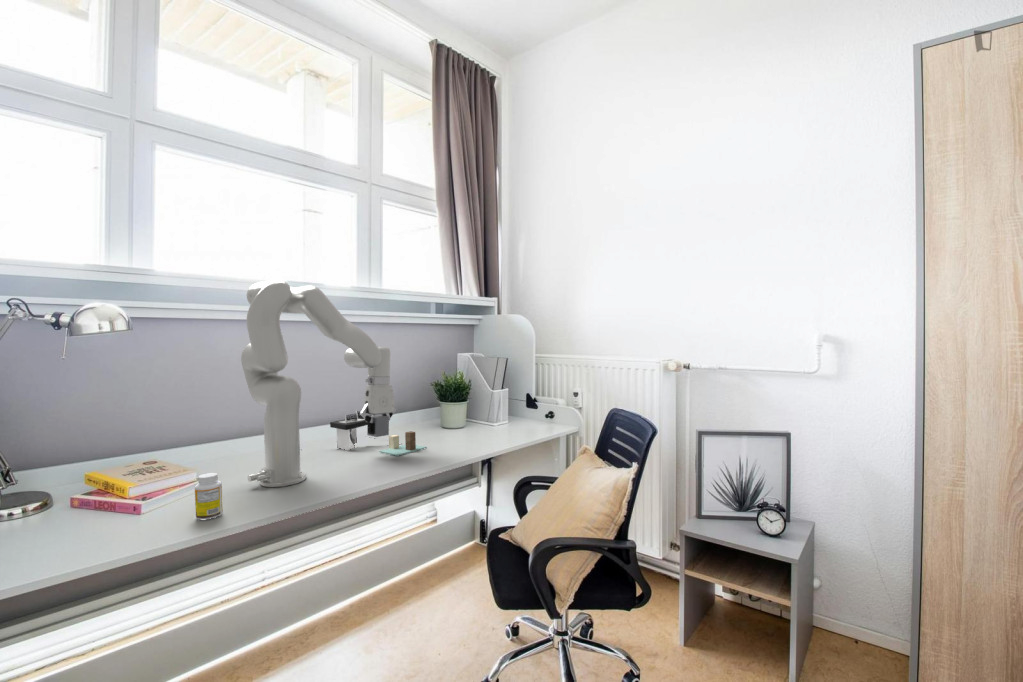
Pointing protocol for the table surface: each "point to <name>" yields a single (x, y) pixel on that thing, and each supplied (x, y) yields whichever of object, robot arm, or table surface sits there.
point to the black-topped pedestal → (348, 430)
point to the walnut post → (410, 440)
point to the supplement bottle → (208, 496)
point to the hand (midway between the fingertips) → (378, 432)
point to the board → (401, 450)
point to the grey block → (381, 426)
